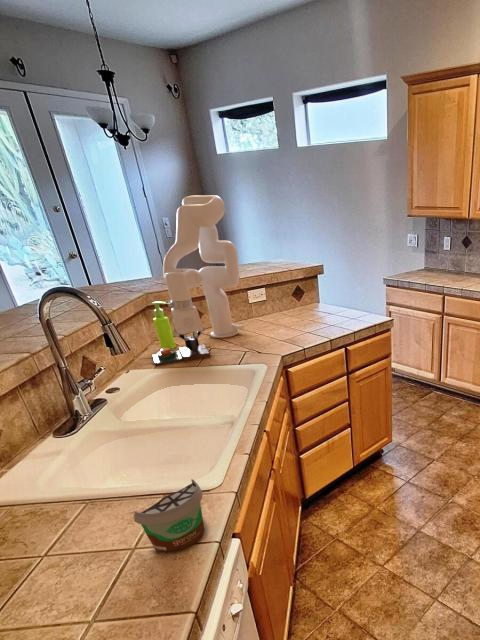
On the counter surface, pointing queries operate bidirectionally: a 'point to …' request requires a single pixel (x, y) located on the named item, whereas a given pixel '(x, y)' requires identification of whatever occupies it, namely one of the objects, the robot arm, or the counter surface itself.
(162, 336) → the soap dispenser
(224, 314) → the robot arm
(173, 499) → the food container
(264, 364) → the counter surface
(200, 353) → the panel
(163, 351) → the button
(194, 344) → the black block
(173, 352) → the button box
